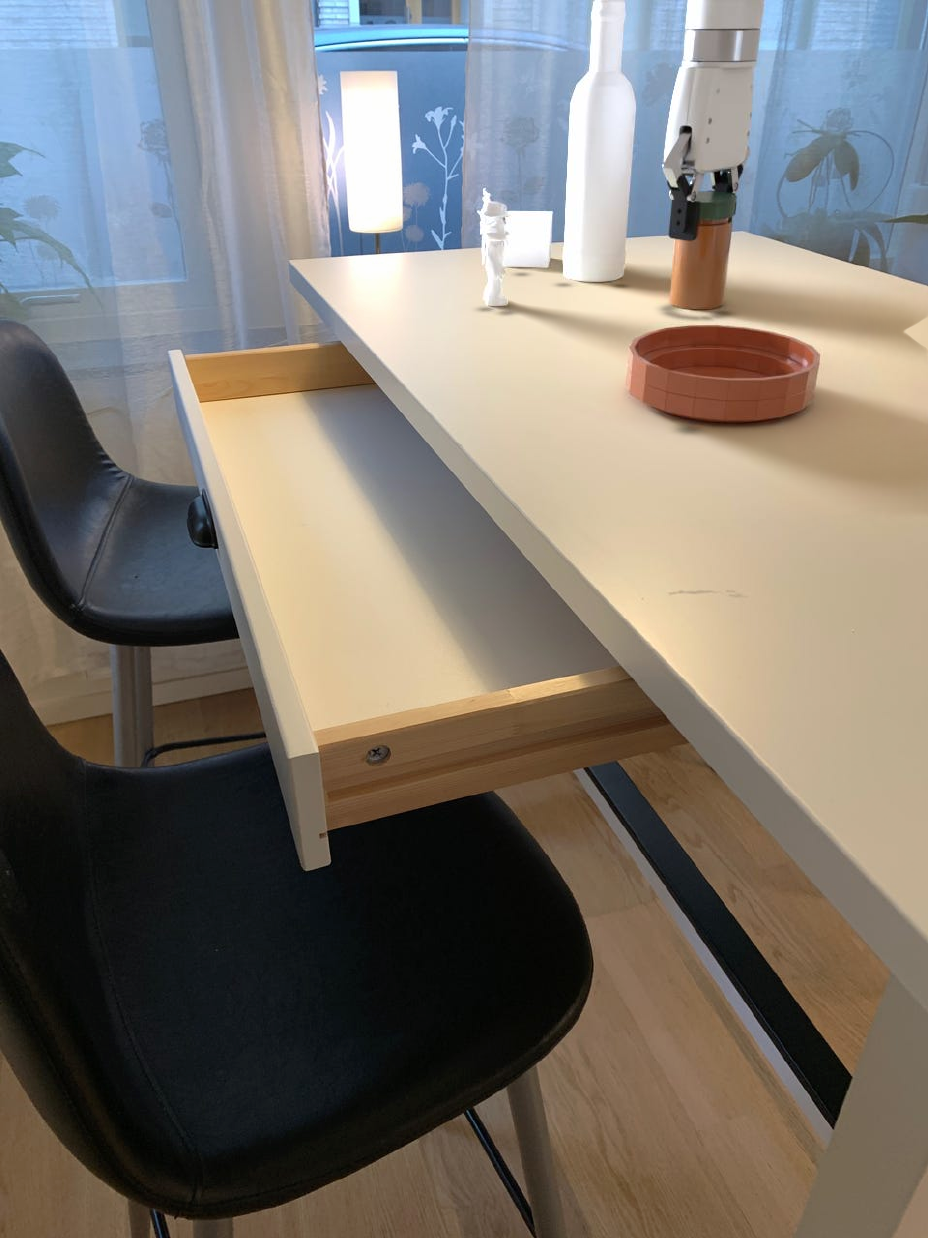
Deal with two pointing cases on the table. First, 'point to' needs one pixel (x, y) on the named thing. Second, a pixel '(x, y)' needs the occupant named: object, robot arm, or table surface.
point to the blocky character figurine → (494, 248)
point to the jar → (701, 266)
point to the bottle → (600, 156)
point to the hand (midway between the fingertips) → (699, 232)
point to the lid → (716, 205)
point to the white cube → (528, 239)
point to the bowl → (722, 372)
